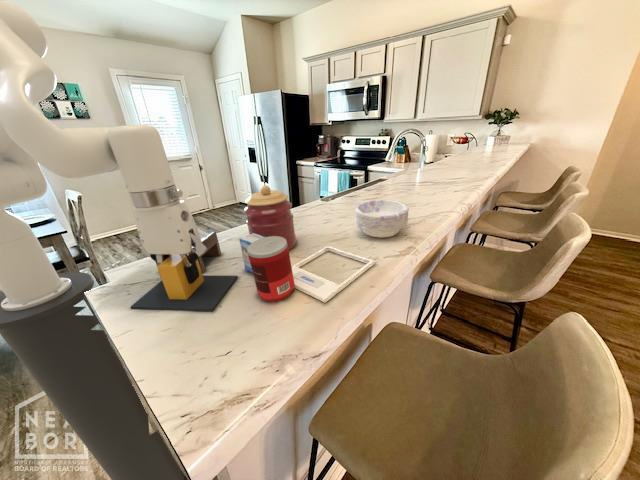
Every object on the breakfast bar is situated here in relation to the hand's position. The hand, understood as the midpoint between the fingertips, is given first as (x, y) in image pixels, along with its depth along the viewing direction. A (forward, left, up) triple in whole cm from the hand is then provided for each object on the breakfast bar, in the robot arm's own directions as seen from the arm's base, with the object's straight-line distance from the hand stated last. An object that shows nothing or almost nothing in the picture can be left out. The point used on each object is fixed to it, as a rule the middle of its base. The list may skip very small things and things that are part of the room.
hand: (184, 279), depth 56 cm
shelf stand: (-7, +13, -3) cm, 15 cm away
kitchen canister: (+13, +23, -4) cm, 27 cm away
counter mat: (0, 0, -3) cm, 3 cm away
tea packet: (0, 0, -3) cm, 3 cm away
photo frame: (+30, +9, -3) cm, 31 cm away
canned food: (+20, +1, -3) cm, 20 cm away
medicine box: (+14, +9, -4) cm, 17 cm away
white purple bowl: (+44, +32, -4) cm, 54 cm away
